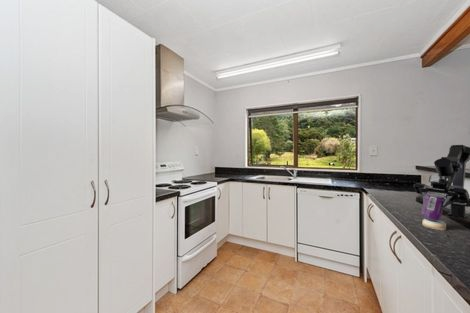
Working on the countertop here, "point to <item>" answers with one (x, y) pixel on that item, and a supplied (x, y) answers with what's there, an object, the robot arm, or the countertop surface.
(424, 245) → the countertop surface
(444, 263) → the countertop surface
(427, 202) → the beverage can
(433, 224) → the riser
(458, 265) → the countertop surface
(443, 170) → the robot arm
